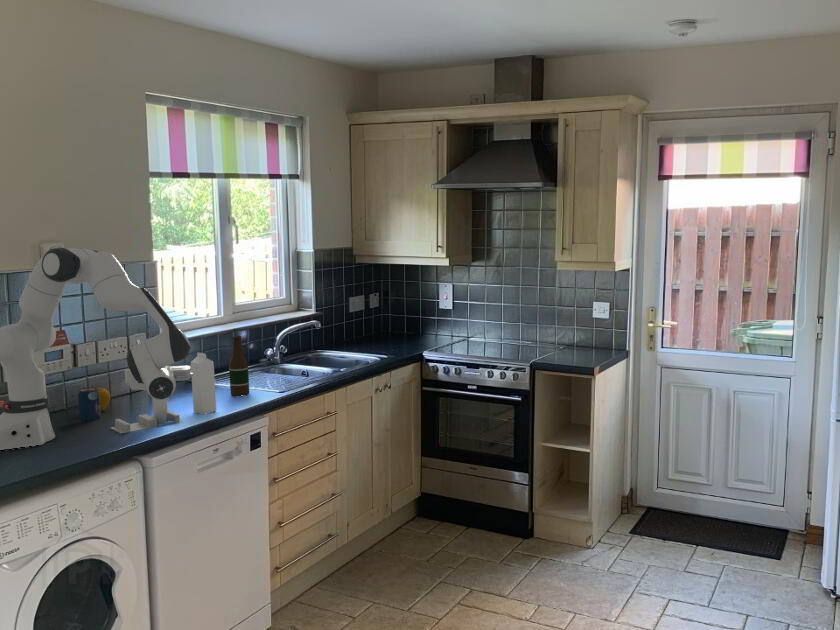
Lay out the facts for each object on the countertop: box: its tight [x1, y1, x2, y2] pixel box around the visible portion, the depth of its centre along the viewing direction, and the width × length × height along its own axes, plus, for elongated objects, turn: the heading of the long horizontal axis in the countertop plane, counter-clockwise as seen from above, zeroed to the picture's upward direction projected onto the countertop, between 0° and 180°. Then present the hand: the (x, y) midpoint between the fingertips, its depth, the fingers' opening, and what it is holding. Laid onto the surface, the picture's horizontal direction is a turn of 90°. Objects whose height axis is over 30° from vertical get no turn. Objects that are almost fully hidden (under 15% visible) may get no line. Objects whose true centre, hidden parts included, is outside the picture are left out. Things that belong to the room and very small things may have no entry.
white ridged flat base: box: [110, 409, 184, 434], centre depth 272 cm, size 22×12×4 cm, turn 130°
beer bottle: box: [228, 334, 250, 397], centre depth 320 cm, size 8×8×24 cm
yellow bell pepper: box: [96, 387, 111, 413], centre depth 300 cm, size 8×8×9 cm
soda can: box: [77, 387, 102, 423], centre depth 283 cm, size 7×7×12 cm
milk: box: [190, 352, 217, 415], centre depth 293 cm, size 6×6×22 cm
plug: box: [152, 398, 168, 423], centre depth 274 cm, size 4×4×16 cm
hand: (157, 369), depth 261 cm, fingers open, 8 cm apart
